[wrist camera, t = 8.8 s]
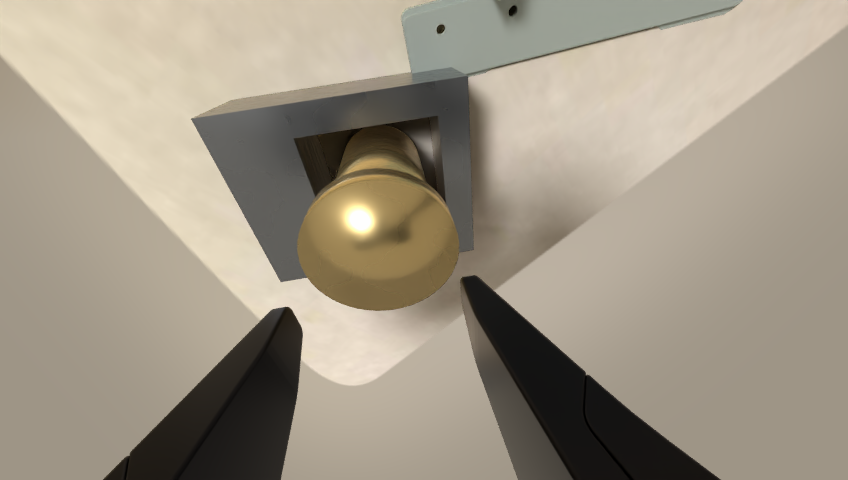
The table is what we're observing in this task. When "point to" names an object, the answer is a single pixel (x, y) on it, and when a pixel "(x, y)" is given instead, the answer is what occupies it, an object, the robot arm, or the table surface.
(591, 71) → the table surface
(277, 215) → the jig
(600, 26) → the metal bracket
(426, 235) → the knob
